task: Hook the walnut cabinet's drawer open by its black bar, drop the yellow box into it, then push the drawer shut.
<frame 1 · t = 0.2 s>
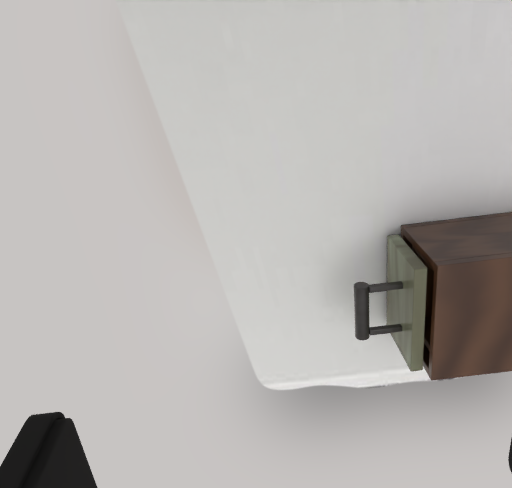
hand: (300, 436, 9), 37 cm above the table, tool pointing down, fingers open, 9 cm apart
cabinet: (465, 269, 50), on the table
drawer: (441, 296, 46), point 5 cm above the table, slide at 0.5 cm
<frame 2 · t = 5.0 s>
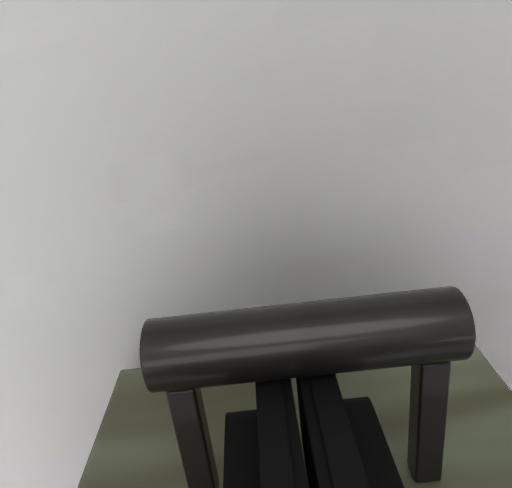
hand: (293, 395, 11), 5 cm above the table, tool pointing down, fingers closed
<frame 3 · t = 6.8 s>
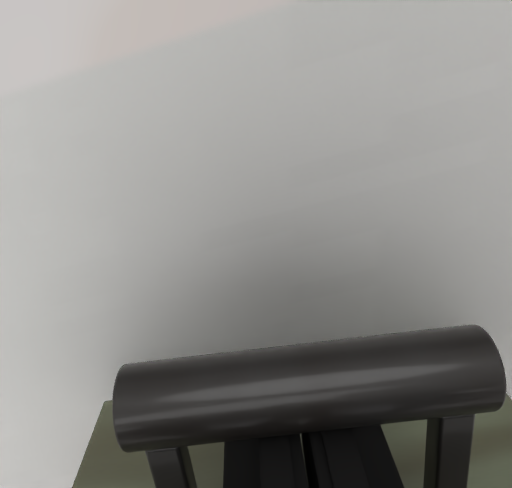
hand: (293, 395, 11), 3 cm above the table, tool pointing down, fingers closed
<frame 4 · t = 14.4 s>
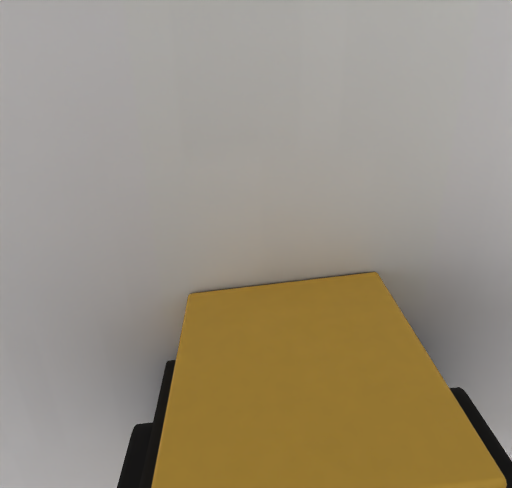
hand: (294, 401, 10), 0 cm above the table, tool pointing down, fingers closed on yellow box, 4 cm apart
yellow box: (293, 392, 11), on the table, touching gripper
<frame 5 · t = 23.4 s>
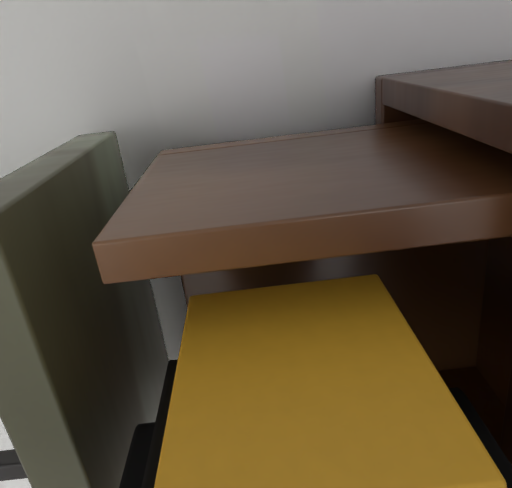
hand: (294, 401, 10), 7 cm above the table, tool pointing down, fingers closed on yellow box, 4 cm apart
yellow box: (294, 393, 11), point 7 cm above the table, touching gripper
drawer: (241, 344, 13), point 5 cm above the table, slide at 8.3 cm
when the fingers open (9 cm above the table, at t = 27.1 s): yellow box drops 7 cm, resting on drawer.
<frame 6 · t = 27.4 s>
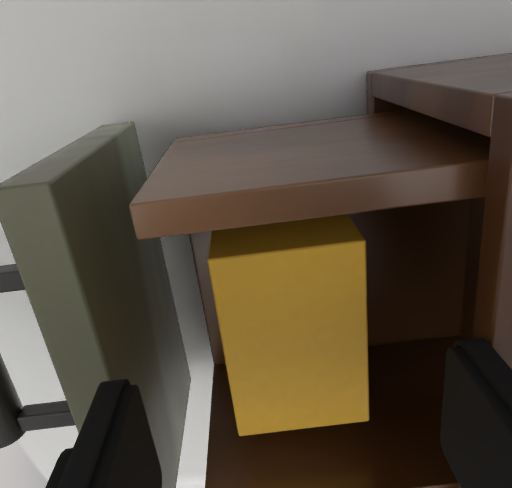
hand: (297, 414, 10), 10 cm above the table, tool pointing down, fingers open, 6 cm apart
yellow box: (280, 267, 17), point 2 cm above the table, touching drawer
drawer: (248, 308, 14), point 5 cm above the table, slide at 8.3 cm, touching yellow box
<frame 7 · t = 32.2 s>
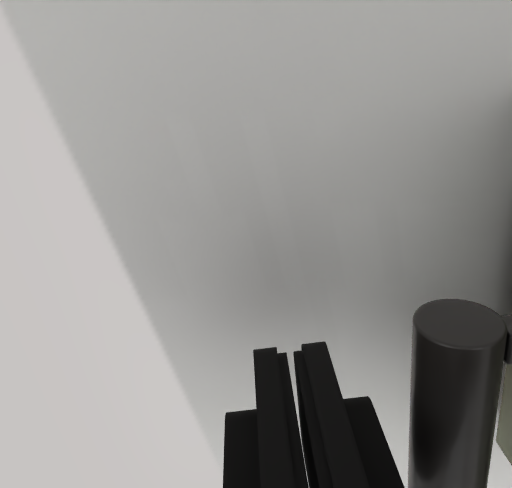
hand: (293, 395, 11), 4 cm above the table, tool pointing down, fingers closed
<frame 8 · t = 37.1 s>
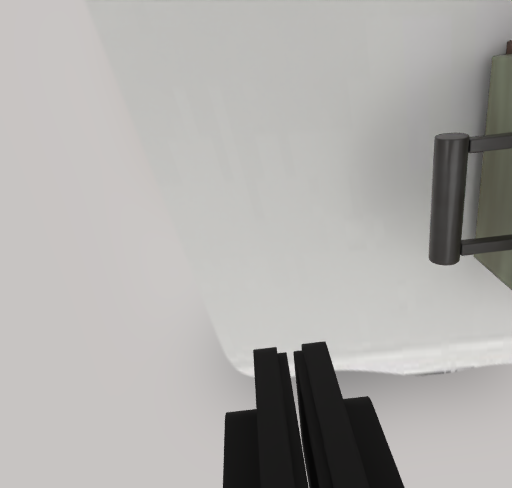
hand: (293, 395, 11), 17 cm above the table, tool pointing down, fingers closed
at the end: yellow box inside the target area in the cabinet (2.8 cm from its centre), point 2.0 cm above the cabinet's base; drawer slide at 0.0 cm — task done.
